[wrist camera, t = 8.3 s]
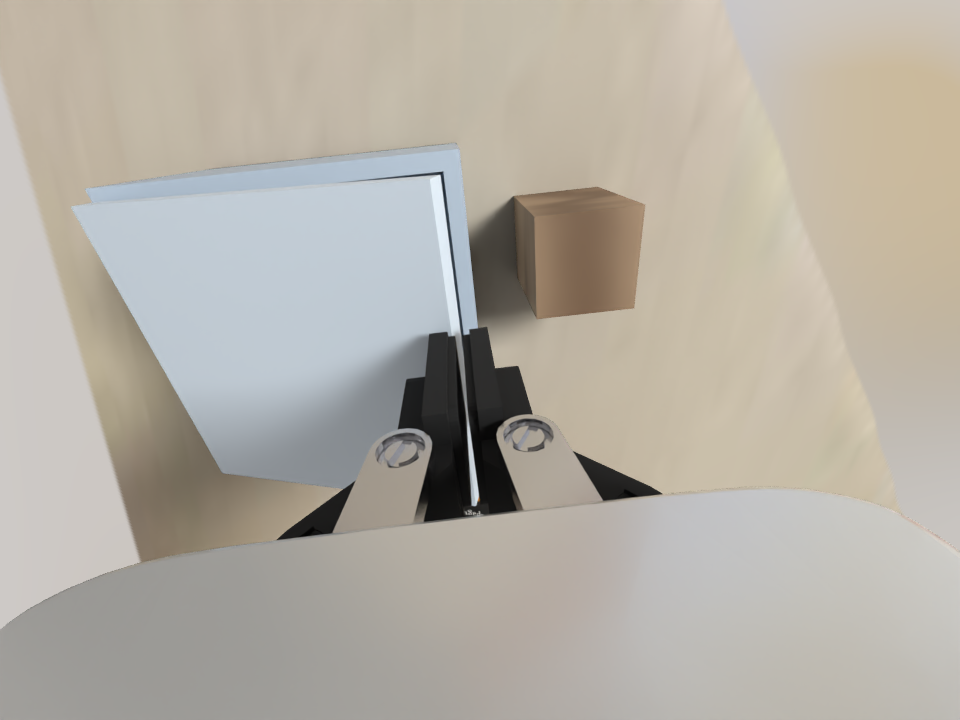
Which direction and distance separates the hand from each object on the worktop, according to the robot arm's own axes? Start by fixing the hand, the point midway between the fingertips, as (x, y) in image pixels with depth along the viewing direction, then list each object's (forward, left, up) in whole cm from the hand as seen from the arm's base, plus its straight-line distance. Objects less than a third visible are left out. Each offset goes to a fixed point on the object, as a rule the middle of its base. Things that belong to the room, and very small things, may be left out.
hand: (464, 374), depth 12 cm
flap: (+6, 0, -2) cm, 6 cm away
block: (-6, -1, -12) cm, 14 cm away
